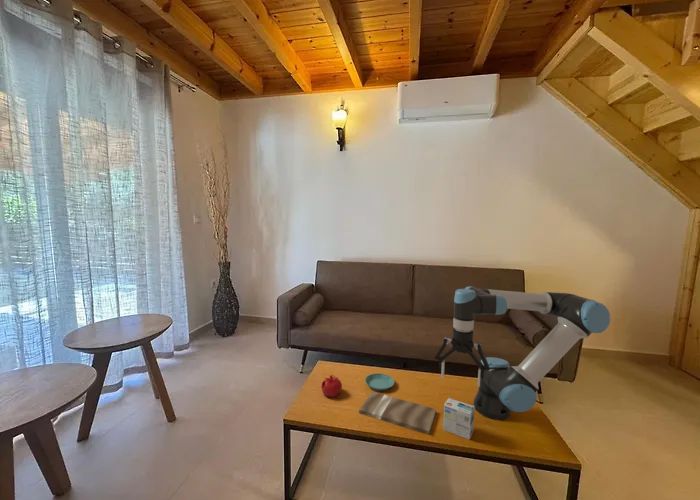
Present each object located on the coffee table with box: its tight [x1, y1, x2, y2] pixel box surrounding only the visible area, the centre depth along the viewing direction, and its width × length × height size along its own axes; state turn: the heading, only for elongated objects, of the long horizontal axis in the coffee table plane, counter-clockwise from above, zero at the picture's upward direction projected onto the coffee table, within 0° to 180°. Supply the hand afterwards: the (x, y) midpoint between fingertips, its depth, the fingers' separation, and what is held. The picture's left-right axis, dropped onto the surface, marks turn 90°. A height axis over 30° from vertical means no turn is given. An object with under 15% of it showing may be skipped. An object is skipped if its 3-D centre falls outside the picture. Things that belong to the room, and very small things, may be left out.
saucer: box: [364, 373, 395, 392], centre depth 157 cm, size 15×15×3 cm
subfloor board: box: [358, 391, 437, 436], centre depth 134 cm, size 30×16×2 cm, turn 65°
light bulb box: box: [442, 397, 475, 441], centre depth 123 cm, size 11×7×11 cm, turn 57°
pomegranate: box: [321, 374, 343, 398], centre depth 148 cm, size 10×10×9 cm
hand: (460, 381), depth 122 cm, fingers open, 13 cm apart
